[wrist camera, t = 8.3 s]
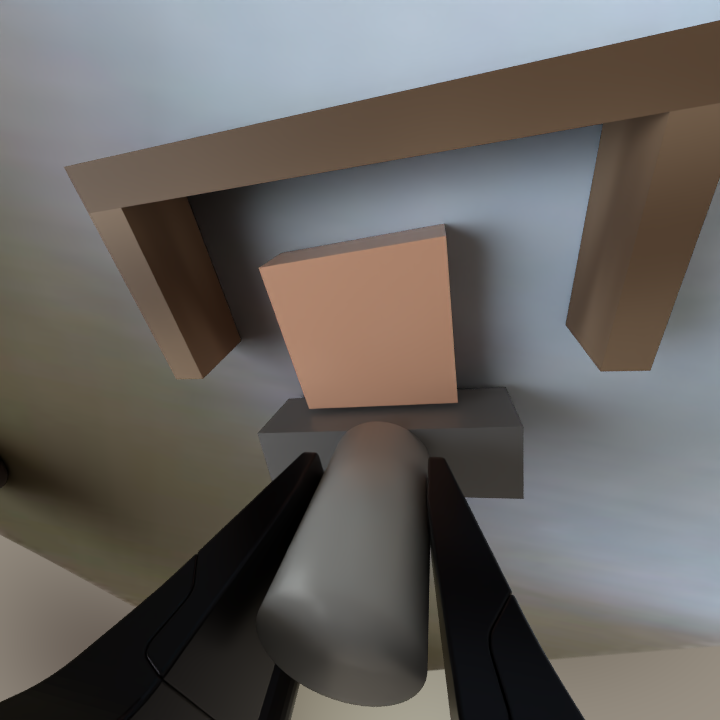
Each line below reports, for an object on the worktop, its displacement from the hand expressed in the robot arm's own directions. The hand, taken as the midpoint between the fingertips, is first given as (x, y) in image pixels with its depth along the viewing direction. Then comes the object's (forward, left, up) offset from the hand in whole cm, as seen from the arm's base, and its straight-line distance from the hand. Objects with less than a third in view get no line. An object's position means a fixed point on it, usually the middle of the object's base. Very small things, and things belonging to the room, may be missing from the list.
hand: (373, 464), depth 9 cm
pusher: (-1, 0, -3) cm, 4 cm away
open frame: (+5, 0, -4) cm, 6 cm away
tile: (+3, 0, -4) cm, 5 cm away
